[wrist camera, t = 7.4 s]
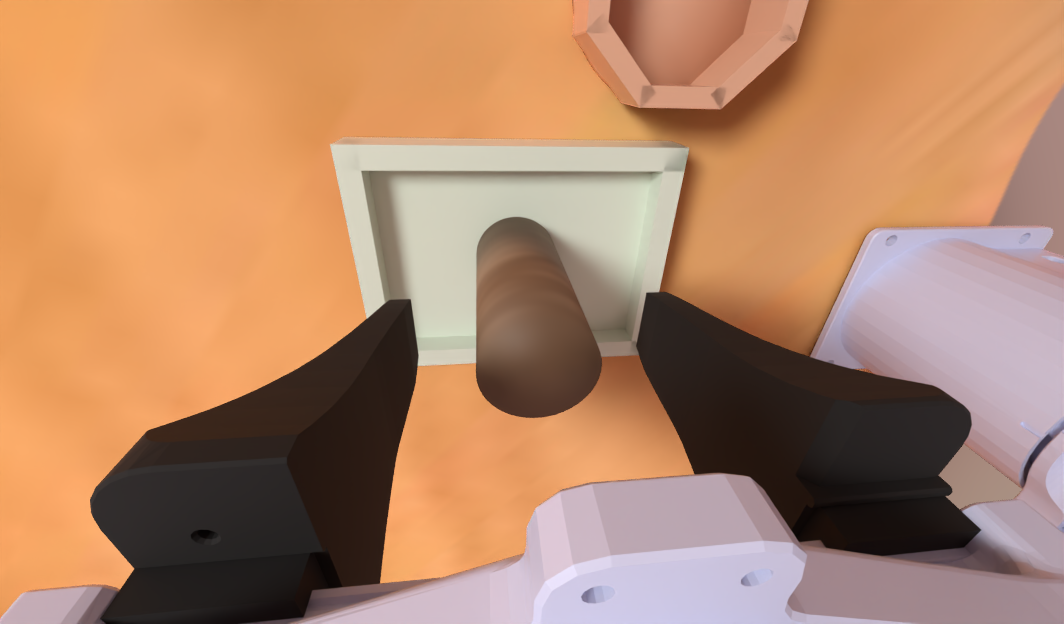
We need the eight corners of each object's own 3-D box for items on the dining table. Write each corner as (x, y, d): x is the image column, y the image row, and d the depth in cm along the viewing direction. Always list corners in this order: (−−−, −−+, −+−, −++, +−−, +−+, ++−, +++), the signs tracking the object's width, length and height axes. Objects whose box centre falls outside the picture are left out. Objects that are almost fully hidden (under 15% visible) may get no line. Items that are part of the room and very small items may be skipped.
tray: (670, 140, 16) (689, 148, 14) (634, 335, 20) (645, 354, 19) (344, 136, 14) (330, 144, 13) (384, 346, 19) (377, 367, 18)
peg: (559, 219, 16) (613, 319, 10) (549, 291, 18) (589, 417, 11) (478, 214, 16) (478, 315, 9) (475, 288, 17) (473, 418, 11)
